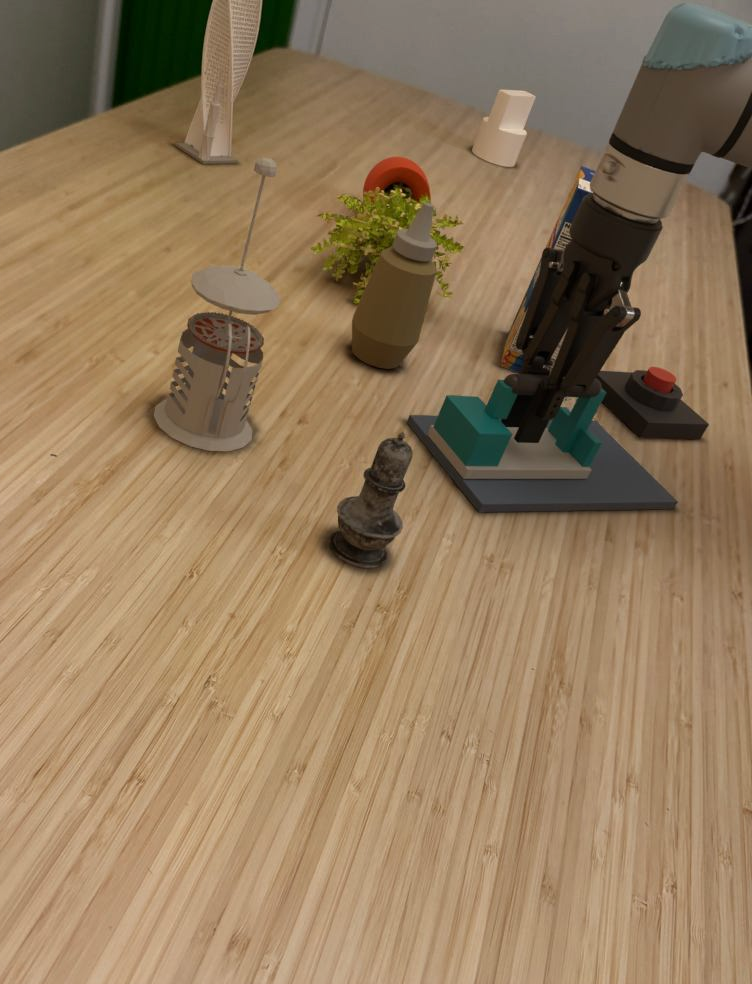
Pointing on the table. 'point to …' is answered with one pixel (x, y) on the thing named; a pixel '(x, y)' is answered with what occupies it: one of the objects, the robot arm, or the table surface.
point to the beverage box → (557, 241)
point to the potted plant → (384, 219)
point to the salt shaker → (373, 508)
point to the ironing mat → (561, 482)
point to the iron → (491, 445)
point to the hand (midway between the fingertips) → (519, 432)
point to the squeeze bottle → (396, 296)
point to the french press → (219, 355)
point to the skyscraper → (222, 78)
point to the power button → (659, 379)
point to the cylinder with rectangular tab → (504, 128)
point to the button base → (649, 407)
